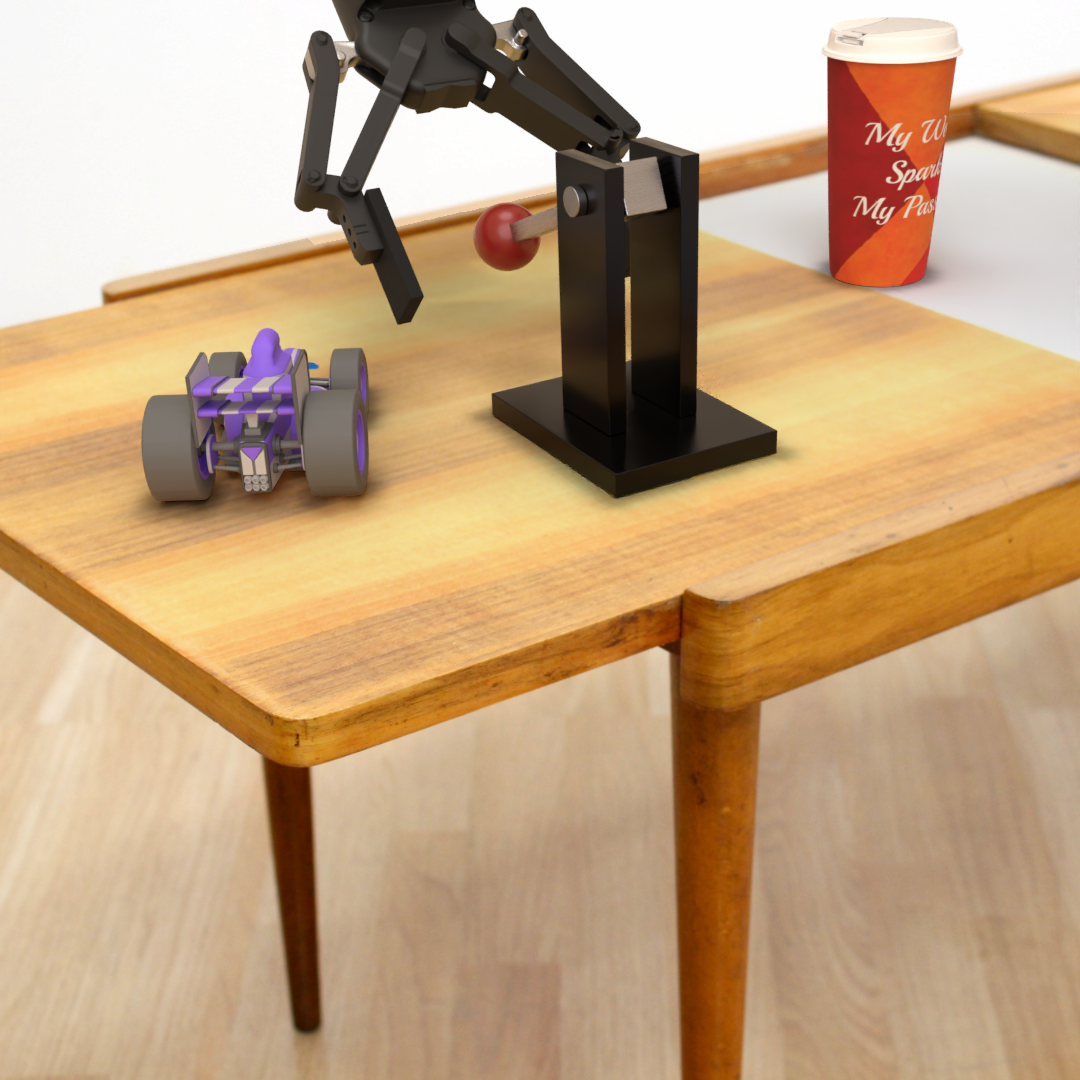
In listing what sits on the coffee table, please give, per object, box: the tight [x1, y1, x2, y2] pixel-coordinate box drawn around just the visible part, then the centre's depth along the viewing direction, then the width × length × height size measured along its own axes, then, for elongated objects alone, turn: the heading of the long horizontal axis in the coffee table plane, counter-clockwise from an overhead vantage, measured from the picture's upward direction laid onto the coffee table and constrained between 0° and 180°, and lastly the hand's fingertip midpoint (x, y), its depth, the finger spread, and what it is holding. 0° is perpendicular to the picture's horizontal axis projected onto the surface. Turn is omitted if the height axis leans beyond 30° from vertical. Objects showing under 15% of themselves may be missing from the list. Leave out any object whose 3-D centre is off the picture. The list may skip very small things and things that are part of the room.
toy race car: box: [140, 327, 370, 502], centre depth 75 cm, size 10×15×6 cm, turn 0°
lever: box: [472, 157, 667, 272], centre depth 77 cm, size 16×4×4 cm, turn 30°
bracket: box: [490, 136, 778, 499], centre depth 73 cm, size 12×9×14 cm
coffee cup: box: [821, 16, 964, 288], centre depth 95 cm, size 8×8×15 cm
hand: (527, 287), depth 82 cm, fingers open, 13 cm apart
